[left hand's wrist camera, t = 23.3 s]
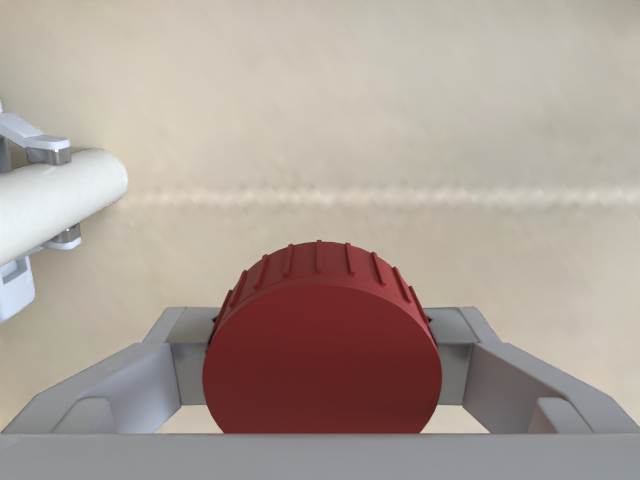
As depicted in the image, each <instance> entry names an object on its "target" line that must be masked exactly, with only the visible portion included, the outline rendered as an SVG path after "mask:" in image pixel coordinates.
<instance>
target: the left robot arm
mask: <svg viewBox="0 0 640 480" xmlns="http://www.w3.org/2000/svg"><path fill="white" fill-rule="evenodd" d="M422 309H423V311H424V313H425V315H426V317H427V319H428V321H429V324H428V330H429V332H430V334H431V336H432V338H433V341H434V343H435V345H436V348H437V350H438V354H439V357H440V360H441V367H442V388H441V393H440V397H439V401H438V403H437V405H463V408H464V409H465V410H466V411H467V412H469V413H470V414H471V415H472V416H473V417H474V418H475V419H476V420H477V421H478V422H479V423H481V424H482V425H483V426H484V427H485V428H486V429H487V430H488V431H489V432H490V433H491V434H153V433H154V432H155V431H156V430H157V429H158V428H159V427H160V426H161V425H163V424H164V423H165V422H166V421H167V420H168V419H169V418H170V417H171V416H172V415H173V414H174V413H176V412H177V411H178V410H179V409H180V408H181V405H207V404H206V401H205V397H204V393H203V385H202V371H203V363H204V359H205V355H206V353H205V350H208V347H209V345H210V343H211V340H212V338H213V336H214V333H215V331H216V330H215V329H213V326H214V324H215V321H216V319H217V317H218V314H219V312H220V310H221V308H220V307H168V308H166V309H165V310H164V312H163V313H162V315H161V316H160V317H159V319H158V320H157V322H156V323H155V324H154V326H153V327H152V329H151V330H150V331H149V333H148V334H147V336H146V337H145V339H144V340H143V341H142V343H134V344H132V345H131V346H129V347H127V348H125V349H123V350H121V351H119V352H117V353H115V354H113V355H112V356H110V357H108V358H106V359H104V360H102V361H100V362H98V363H96V364H94V365H93V366H91V367H89V368H87V369H85V370H83V371H81V372H79V373H77V374H75V375H74V376H72V377H70V378H68V379H66V380H64V381H62V382H60V383H58V384H56V385H55V386H53V387H51V388H49V389H47V390H45V391H43V392H41V393H39V394H37V395H36V396H34V397H33V399H32V400H31V401H30V402H29V403H28V404H27V405H26V406H25V407H24V408H23V409H22V410H21V411H20V412H19V414H18V415H17V416H16V417H15V418H14V419H13V420H12V421H11V422H10V423H9V424H8V425H7V426H6V428H5V429H4V430H3V431H2V432H1V433H0V480H640V427H639V426H638V425H637V424H636V423H635V421H634V420H633V419H632V418H631V417H630V416H629V415H628V414H627V413H626V412H625V411H624V410H623V409H622V408H621V407H620V406H619V405H618V403H617V402H616V401H615V400H614V399H613V398H612V397H611V396H609V395H607V394H605V393H603V392H602V391H600V390H598V389H596V388H594V387H592V386H590V385H588V384H586V383H584V382H582V381H581V380H579V379H577V378H575V377H573V376H571V375H569V374H567V373H565V372H563V371H561V370H559V369H558V368H556V367H554V366H552V365H550V364H548V363H546V362H544V361H542V360H540V359H538V358H537V357H535V356H533V355H531V354H529V353H527V352H525V351H523V350H521V349H519V348H517V347H516V346H514V345H512V344H510V343H502V341H501V340H500V339H499V337H498V336H497V334H496V333H495V332H494V330H493V329H492V328H491V326H490V325H489V323H488V322H487V321H486V319H485V318H484V317H483V315H482V314H481V313H480V311H479V310H478V308H476V307H474V306H473V307H443V308H422Z"/></svg>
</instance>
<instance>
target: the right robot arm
mask: <svg viewBox="0 0 640 480" xmlns="http://www.w3.org/2000/svg"><path fill="white" fill-rule="evenodd" d="M8 139H9V140H10V141H12V142H14V143H16V144H17V145H19V146H21V147H22V148H24V149H26V152H27V157H28V162H29V163H43V162H44V163H45V164H48V165H63V164H65V162H67V163H69V162H71V161H72V159H71V148H70V141H69V139H68V138H64V137H56V136H48V135H44V133H43V132H42V131H40V130H39V129H37V128H36V127H34V126H33V125H31V124H30V123H29V122H27V121H26V120H24V119H23V118H21V117H20V116H18V115H17V114H14V113H6V112H3V111H2V105H1V100H0V173H2V172H5V171H9V170H12V169H13V166H12V161H11V155H10V150H9V144H8ZM80 243H82V242H81V234H80V225H79V223H77V224H76V225H74V226H72V227H70V228H69V229H67V230H65V231H63V232H62V233H60V234H58V235H56V236H55V237H53V238H51V239H50V240H48V241H46V242H44V243H43V244H41V245H39V246H37V247H36V248H34V249H32V250H30V251H29V252H27V253H25V254H23V255H22V256H20V257H18V258H16V259H15V260H13V261H11V262H9V263H8V264H6V265H4V266H2V267H1V268H0V324H1V323H3V322H5V321H7V320H9V319H10V318H12V317H13V316H14V315H16V314H17V313H19V312H20V311H21V310H23V309H24V308H25V307H26V306H27V305H28V304H29V303H31V302H32V301H33V300H34V298H35V288H34V282H33V277H32V271H31V266H30V260H29V255H31V254H33V253H36V252H38V251H40V250H42V249H44V248H49V249H58V250H69V249H73V248H74V247H76V246H77V245H79V244H80Z"/></svg>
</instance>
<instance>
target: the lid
mask: <svg viewBox="0 0 640 480" xmlns="http://www.w3.org/2000/svg"><path fill="white" fill-rule="evenodd" d="M428 324H429V321H428V319H427V317H426V315H425V313H424V311H423V309H422V307H421V304H420V302H419V300H418V298H417V296H416V294H415V292H414V289H413V288H412V286H409V287H408V285H407V284H406V282H405V281H404V280H403V278H402V277H401V275H400V273H399V271H398V269H397V268H396V267H394V268H393V267H391V266H390V265H389V264H388V263H386V262H385V261H384V260H382V259H381V258H379V257H377V254H376V253H375V252H372V253H370V252H368V251H365V250H363V249H361V248H358V247H354V246H351V245H350V243H346V244H341V243H335V242H321V240H317V242H309V243H302V244H297V245H293V244H289V245H288V247H286V248H283V249H280V250H278V251H276V252H274V253H272V254H270V255H267V254H265V255H264V256H263V257H262V260H260V261H259V262H257V263H256V264H255V265H253V266H252V267H251V268H250V269H249V270H248V271H246V270H244V271H243V272H242V274H241V277H240V279H239V281H238V283H237V284H236V286H235V288H234V289H233V291H232V290H229V292H228V294H227V296H226V299H225V301H224V303H223V305H222V308H221V310H220V312H219V314H218V317H217V319H216V321H215V324H214V326H213V329H215V330H216V331H215V333H214V336H213V338H212V340H211V343H210V345H209V347H208V350H205V353H206V355H205V359H204V363H203V371H202V385H203V393H204V397H205V401H206V404H207V406H208V409H209V411H210V413H211V415H212V417H213V419H214V420H215V422H216V423H217V425H218V426H219V428H220V429H221V430H222V431H223V432H224V434H419V433H420V432H421V431H422V430H423V428H424V427H425V426H426V424H427V423H428V422H429V420H430V418H431V417H432V415H433V413H434V411H435V409H436V406H437V403H438V401H439V397H440V393H441V388H442V367H441V360H440V357H439V354H438V350H437V348H436V345H435V343H434V341H433V338H432V336H431V334H430V332H429V330H428Z"/></svg>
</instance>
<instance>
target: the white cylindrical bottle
mask: <svg viewBox="0 0 640 480" xmlns="http://www.w3.org/2000/svg"><path fill="white" fill-rule="evenodd" d="M71 159H72V161H71V162H69V163H67V162H65V164H63V165H48V164H45V163H44V162H43V163H34V164H31V165H27V166H23V167H20V168H16V169H12V170H9V171H5V172H2V173H0V268H1V267H2V266H4V265H6V264H8V263H9V262H11V261H13V260H15V259H16V258H18V257H20V256H22V255H23V254H25V253H27V252H29V251H30V250H32V249H34V248H36V247H37V246H39V245H41V244H43V243H44V242H46V241H48V240H50V239H51V238H53V237H55V236H56V235H58V234H60V233H62V232H63V231H65V230H67V229H69V228H70V227H72V226H74V225H76V224H77V223H79V222H81V221H83V220H84V219H86V218H88V217H90V216H91V215H93V214H95V213H97V212H98V211H100V210H102V209H104V208H105V207H107V206H109V205H111V204H112V203H114V202H116V201H118V200H119V199H121V198H122V197H123V196H124V194H125V193H126V191H127V188H128V175H127V172H126V169H125V167H124V166H123V164H122V163H121V162H120V160H119V159H118V158H117V157H115V156H114V155H113V154H111V153H110V152H108V151H105V150H103V149H98V148H90V149H85V150H81V151H78V152H74V153H71Z"/></svg>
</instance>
